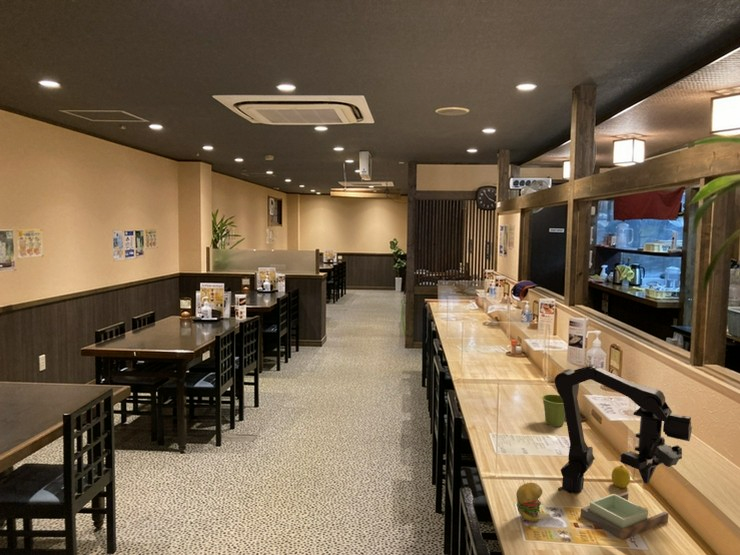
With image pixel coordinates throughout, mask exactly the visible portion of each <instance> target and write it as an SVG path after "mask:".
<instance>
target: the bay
mask: <svg viewBox="0 0 740 555" xmlns="http://www.w3.org/2000/svg"><path fill="white" fill-rule="evenodd" d="M617 495H618V496H620V497H622V498H624V499H626V500H628V501H629V493H628V492H623V493H620V494H617ZM589 509H590V504H589V505H587V506H583V507H581V508H580V517H581V518H583V519H584V520H586V521H587V522H590V523H591V524H593V525H594V526H597V527H599V528H600V529H602V530H604V531H606V532H607V533H609V534H611V535H612V536H614V537H616V538H618V539H620V540H621V541H625V540H627V539H630V538H632V537H634V536H636V535H639V534H641V533H643V532H646V531H647V530H650V529H652V528H654V527H657V526H659V525H661V524H664V523H666V522H668V521H669V514H670V513H669V512H668V511H666V510H665V511H662V512H660V513H658V514H655V515H653V516H651V517H648V518H647V519H645V520H643V521H641V522H638V523H636V524H633V525H631V526H629V527H626V528H624V529H622V528H621V527H619V526H617V525H615V524H613V523H611V522H610V521H608V520H606V519H604V518H602V517H600V516H598V515H597V514H595V513H593V512H591V511H589Z"/></svg>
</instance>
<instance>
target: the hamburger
mask: <svg viewBox="0 0 740 555" xmlns="http://www.w3.org/2000/svg"><path fill="white" fill-rule="evenodd" d="M522 482H523V483H524V484H522V485H520V486H519V487H518V489H517V491H516V494H515V495H516V502H517V503H516V507H517V511H518V513H519V515H520V516H521V517H522V518H524V519H526V520H527V521H529V522H532V523H536V522H538V521H539V520H540V518H541V516H540V513H539V512H540V509H541V501H540V498H541V497H542V495H543V492H544V491H543V488H542V487H541V486H540V485H539V484H538V483H535V482H527V483H525V481H524V479H522Z"/></svg>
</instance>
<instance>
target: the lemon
mask: <svg viewBox="0 0 740 555" xmlns="http://www.w3.org/2000/svg"><path fill="white" fill-rule="evenodd" d="M611 482H612V483H613V485H614V487H616V488H620V489H626V487H627V486H629V484H630V482H631V475H630V471H629V470H628V469H627V467H625V466H624V465H617V466H616V467H614V468H613V469H612V471H611Z"/></svg>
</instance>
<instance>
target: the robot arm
mask: <svg viewBox="0 0 740 555" xmlns="http://www.w3.org/2000/svg"><path fill="white" fill-rule="evenodd" d="M553 380H554V385H555V389H556V391H557V395H560V397H561V398H562V400H563V405H564V411H565V422H566V426H567V428H566V429H567V433H568V438H569V444H570V445H569V451H568V457H567V458H568V462H566V464H564V465H563V466H562V467H561V469H560V473H561V476H562V484H561V486H560V487H558V488H557V490H558V491H564V492H567V493H568V494H580V493H582V491H583V489H584V482H585V478H584V476H585V474H586V472H587V471H588V470H589V469H590V468H591V466H592V465H593V464H594V460H595V459H596V458H595V455H594V450H593V449H594V447H593V446H588V445H587V443H586V441H585V436H584V430H583V425H582V418H581V413H580V412H581V410H580V406H579V400H578V395H579V388H580V384H581V383H584V382H585V381H589V380H591V381H594V382H595V383H598V384H600V385H602V386H604V387H607V388H608V389H610V390H613V391H615V392H617V393H619V394H621V395H623V396H624V397H625V396H626V398H628V399H630V400H631V401H633V403H634V404H636V405H637V406H638V407H639V408H638V409H635V411H634V412H633V414H632V415H634V416H637V417H640V420H639V421H640V422H639V432H638V433H636V435H635V437H636V438H638V445H637V446H635V447H634V451H631V450H630V451H626V452H624V453H622V454H620V457H619V462H620V463H621V464H624V465H626V466H629V467H631V468H634V469H635V470H638V472H639V475H640V477H641V479H642V481H643V483H644V484H646V485H647V484H649V483H650V481H651V479H652V476H653V474H654V473H655V470H656V468H657V467H659V466H660V465H662V464H663V465H664V466H665V467H667V468H671V467H672V466H676V465H677V464H678V462H679V460H682V459H683V450H682V447H681V446H680V445H679V444H677V445H674V446H671V445H668V444H666V442H665V441H666V439H665V437H664V436H662V432H663V433H664V435H665V436H666V437H668V438H672V439H675V440H681V441H685V442H690V441H691V436H692V429H693V427H692V417H691V416H688V415H680V414H674V413H673V411H672V409H671V407H670V406H669V405H668V403H667V402H666V397H665V394H664V392H662V390H660V389H657V388H655V387H651V386H647V385H643V384H642V385H641V384H637V383H633V382H632V381H629V380H627V379H625V378H623V377H620V375H619V376H618V375H617V374H614V373H612V372H609V371H607V370H605V369H603V368H600V367H599V366H598V365H596V364H590V365H588V366H584V367H580V368H577V369H574V370H573V369H564V370H563V371H561V372H560V373H557V374H556V376H555V377H554V379H553ZM635 451H636V452H638V453H636V452H635Z"/></svg>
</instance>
